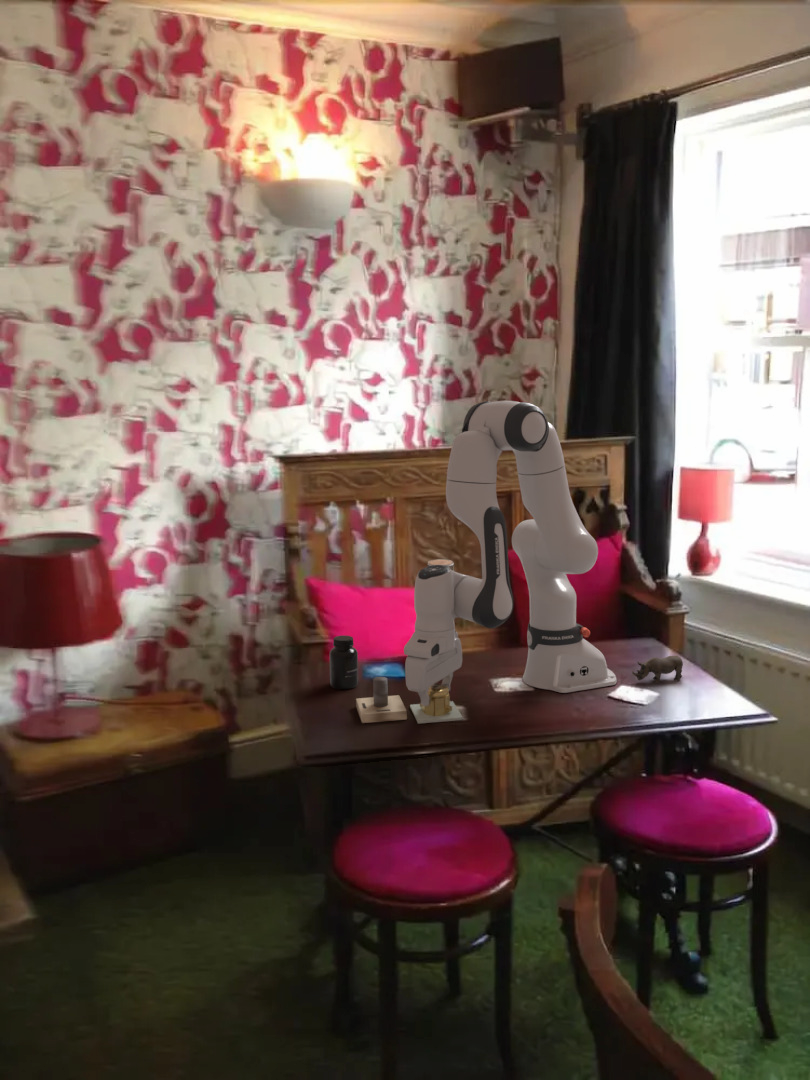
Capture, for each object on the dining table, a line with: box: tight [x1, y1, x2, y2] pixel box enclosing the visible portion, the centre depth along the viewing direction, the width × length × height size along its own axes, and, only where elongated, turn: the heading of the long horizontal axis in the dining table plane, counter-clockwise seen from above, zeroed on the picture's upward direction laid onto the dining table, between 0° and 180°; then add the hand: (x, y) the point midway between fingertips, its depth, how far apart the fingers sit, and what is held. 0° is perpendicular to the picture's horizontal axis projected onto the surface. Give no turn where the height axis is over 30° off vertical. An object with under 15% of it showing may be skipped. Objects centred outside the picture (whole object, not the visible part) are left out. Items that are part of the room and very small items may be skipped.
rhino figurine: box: [631, 655, 684, 684], centre depth 246 cm, size 4×14×6 cm, turn 104°
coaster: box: [409, 700, 464, 725], centre depth 228 cm, size 10×10×1 cm
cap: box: [419, 683, 452, 716], centre depth 227 cm, size 6×7×6 cm
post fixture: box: [355, 676, 408, 724], centre depth 228 cm, size 10×10×8 cm
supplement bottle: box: [329, 635, 359, 690], centre depth 246 cm, size 7×7×12 cm
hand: (435, 698), depth 227 cm, fingers open, 8 cm apart
